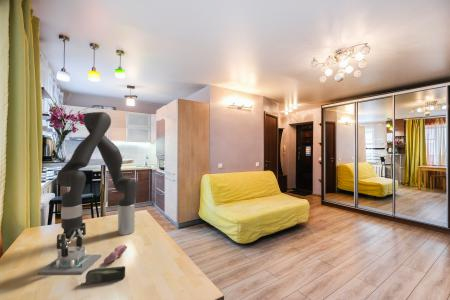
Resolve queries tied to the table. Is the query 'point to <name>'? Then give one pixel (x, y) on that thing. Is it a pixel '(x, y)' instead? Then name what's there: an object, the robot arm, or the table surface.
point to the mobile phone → (104, 275)
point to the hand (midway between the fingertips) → (72, 251)
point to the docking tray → (69, 266)
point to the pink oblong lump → (115, 254)
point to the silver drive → (73, 255)
